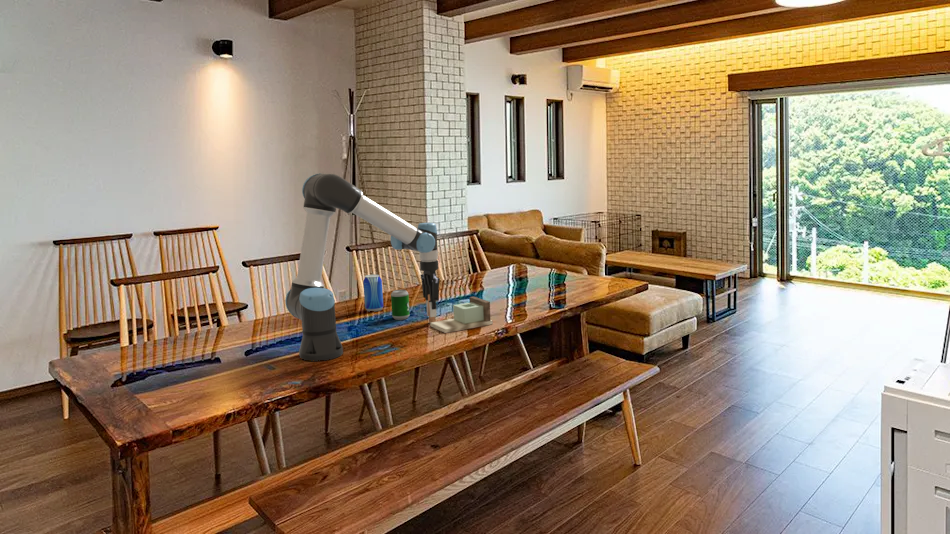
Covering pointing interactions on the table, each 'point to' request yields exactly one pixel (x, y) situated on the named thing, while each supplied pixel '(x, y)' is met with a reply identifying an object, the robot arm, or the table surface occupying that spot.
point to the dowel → (431, 319)
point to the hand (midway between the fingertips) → (431, 315)
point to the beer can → (373, 293)
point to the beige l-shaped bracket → (455, 325)
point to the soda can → (400, 304)
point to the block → (468, 312)
